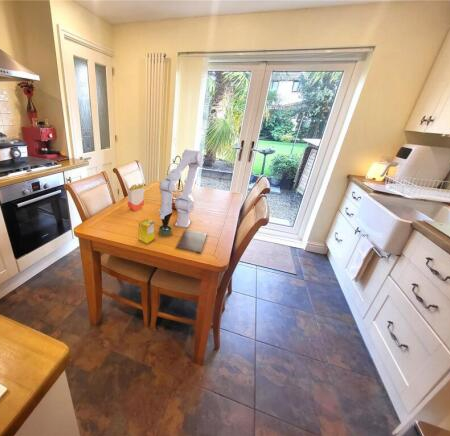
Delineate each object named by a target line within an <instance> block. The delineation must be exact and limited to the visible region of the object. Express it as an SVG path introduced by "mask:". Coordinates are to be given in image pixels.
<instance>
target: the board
mask: <svg viewBox="0 0 450 436" xmlns="http://www.w3.org/2000/svg"><path fill="white" fill-rule="evenodd" d="M207 235H208V233H206V232H200V231H194V230H189V229H186V230H185V231H184V233H183V235H182V236H181V239H180V240H179V242H178V244H177V246H176V249H179V250H185V251H189V252H193V253H195V254H198V255H199V254H200V255H201V253H202V250H203V248H204V244H205V241H206V239H207Z"/></svg>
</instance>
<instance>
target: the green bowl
mask: <svg viewBox="0 0 450 436" xmlns="http://www.w3.org/2000/svg"><path fill="white" fill-rule="evenodd" d="M163 228H164V226H163V225H160V226H159V227H158V235H159V236H160V237H164V238H167V237H170V236H172V230H173V229H172V227H171V226H170V225H168V226H167V228H168V231H164V230H162V229H163Z"/></svg>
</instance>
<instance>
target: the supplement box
mask: <svg viewBox="0 0 450 436" xmlns="http://www.w3.org/2000/svg"><path fill="white" fill-rule="evenodd" d="M155 223H156V222H155V221H153V220H151V219H149V218H144V219H142V220H141V221H138V237H139V238H138V240H139V241H140V242H143V243H145V244H147V245H148V244H150V243H151V242H153V241H154V240H155V229H156V228H155V226H156V224H155Z"/></svg>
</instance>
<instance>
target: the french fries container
mask: <svg viewBox="0 0 450 436" xmlns="http://www.w3.org/2000/svg"><path fill="white" fill-rule="evenodd" d="M144 205H145V187H144V183H138V184H132V185H131V186H130V187H129V189H128V191H127V208H129V209H131V210H132V211H138V210H141V209H142V208H143V207H144Z"/></svg>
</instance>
